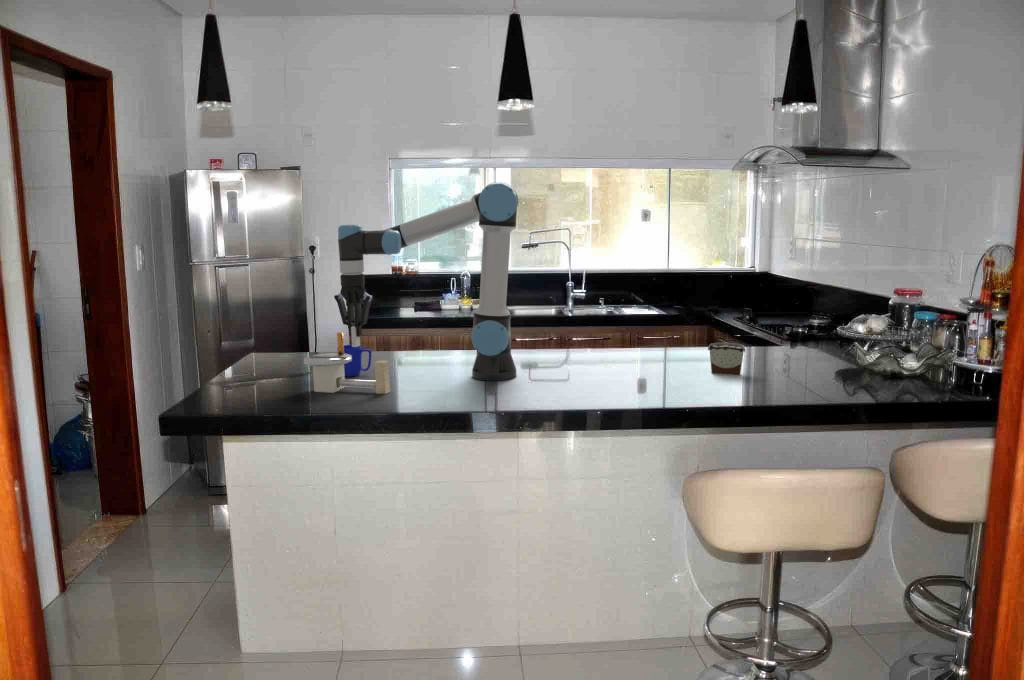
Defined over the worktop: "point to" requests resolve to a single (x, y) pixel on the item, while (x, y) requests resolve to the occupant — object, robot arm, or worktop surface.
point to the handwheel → (330, 356)
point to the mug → (355, 360)
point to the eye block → (327, 378)
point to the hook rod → (380, 384)
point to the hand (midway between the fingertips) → (356, 346)
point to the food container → (726, 358)
